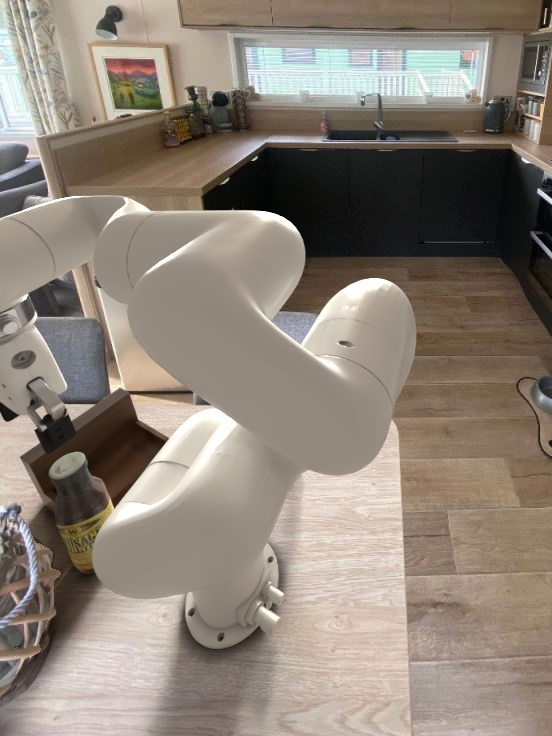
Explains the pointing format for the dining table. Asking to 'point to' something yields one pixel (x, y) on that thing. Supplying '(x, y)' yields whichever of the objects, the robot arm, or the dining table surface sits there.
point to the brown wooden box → (101, 448)
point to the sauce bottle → (79, 507)
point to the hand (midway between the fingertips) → (40, 427)
